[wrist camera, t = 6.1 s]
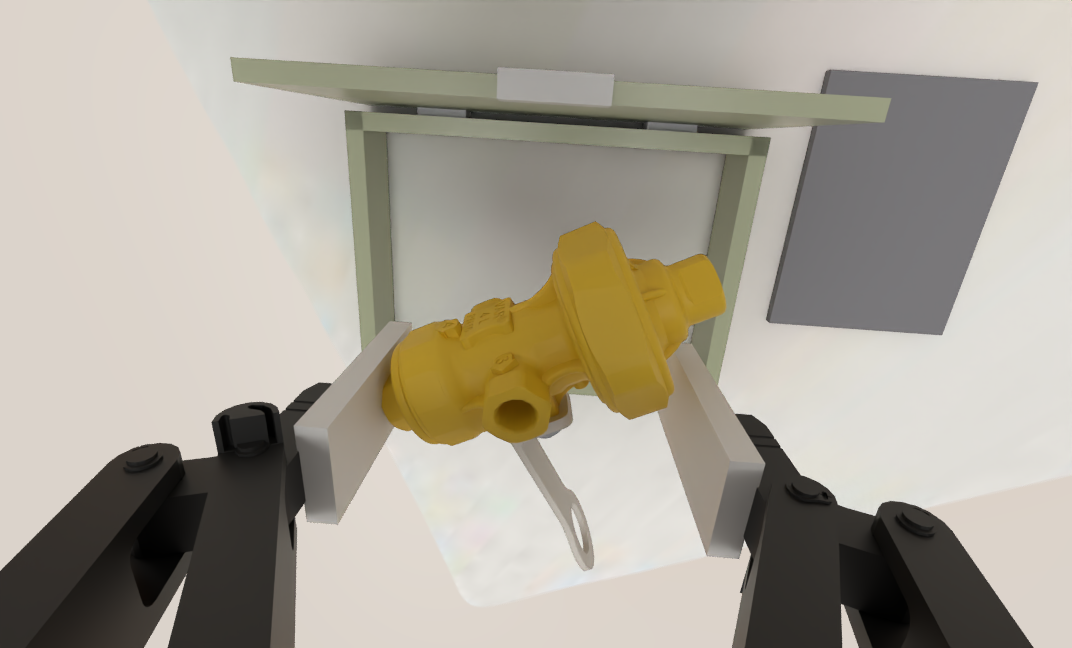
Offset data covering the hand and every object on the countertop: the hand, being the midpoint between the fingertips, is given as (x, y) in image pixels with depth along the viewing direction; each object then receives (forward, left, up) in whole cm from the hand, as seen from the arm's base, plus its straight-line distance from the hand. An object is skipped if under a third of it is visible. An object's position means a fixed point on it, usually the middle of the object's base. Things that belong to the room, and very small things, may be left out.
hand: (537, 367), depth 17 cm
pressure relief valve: (+1, +2, -1) cm, 2 cm away
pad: (-4, +22, -18) cm, 29 cm away
